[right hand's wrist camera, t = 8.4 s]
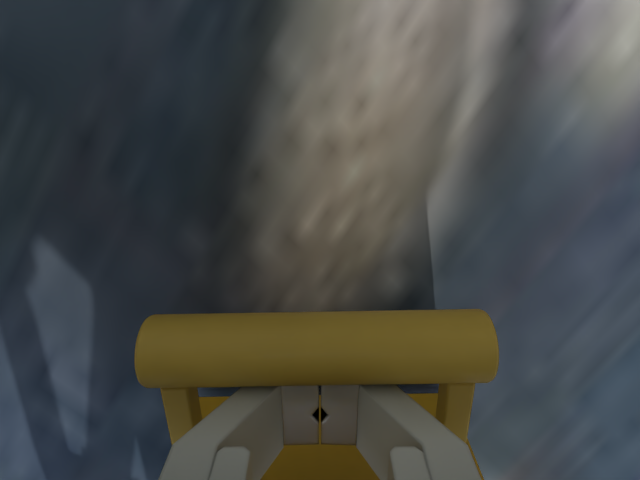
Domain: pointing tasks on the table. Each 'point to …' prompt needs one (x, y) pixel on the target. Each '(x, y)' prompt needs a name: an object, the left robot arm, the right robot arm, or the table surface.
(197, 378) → the yellow drawer
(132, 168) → the table surface
